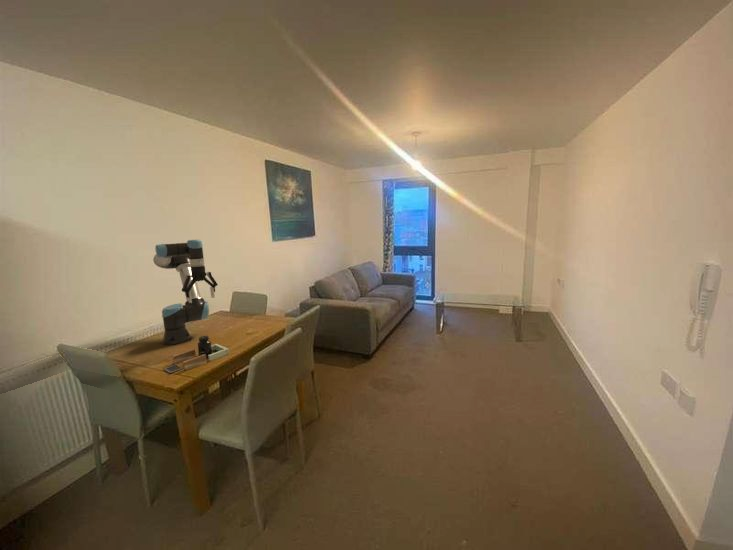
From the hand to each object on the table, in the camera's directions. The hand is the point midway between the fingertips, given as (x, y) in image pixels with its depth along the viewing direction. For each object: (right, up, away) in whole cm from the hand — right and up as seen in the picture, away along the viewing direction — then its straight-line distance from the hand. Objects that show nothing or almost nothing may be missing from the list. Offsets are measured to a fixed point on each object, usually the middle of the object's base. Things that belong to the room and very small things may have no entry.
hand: (202, 300), depth 186 cm
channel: (+4, -33, -20) cm, 39 cm away
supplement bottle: (+9, -32, -13) cm, 35 cm away
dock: (+12, -31, -10) cm, 34 cm away
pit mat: (-1, -34, -27) cm, 43 cm away
